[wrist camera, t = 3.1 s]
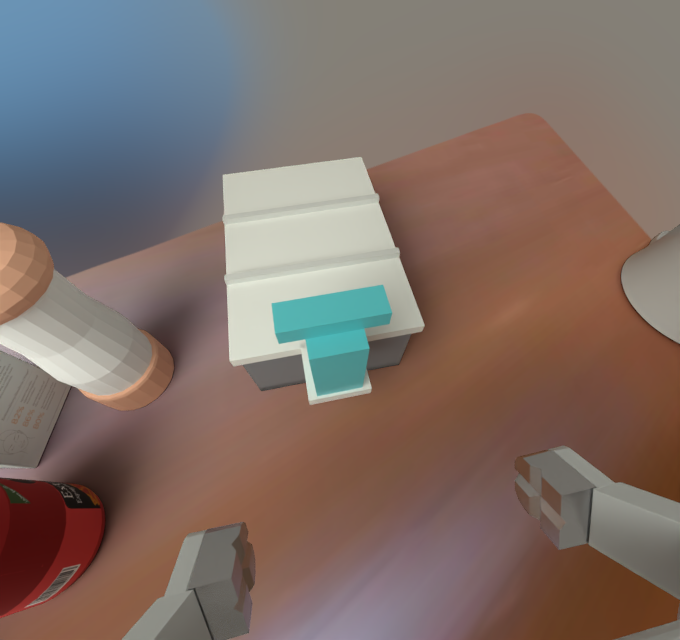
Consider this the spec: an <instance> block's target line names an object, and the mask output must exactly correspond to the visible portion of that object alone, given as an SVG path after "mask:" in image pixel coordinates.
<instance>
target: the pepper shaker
mask: <svg viewBox="0 0 680 640" xmlns="http://www.w3.org/2000/svg"><path fill="white" fill-rule="evenodd" d="M0 344H1V345H3V346H5V347H8V348H10V349H12V350H14V351H16V352H18V353H20V354H22V355H24V356H25V357H26V358H28V359H29V360H31V361H32V362H33V363H35V364H36V365H37V366H39V367H40V368H41V369H43V370H44V371H46V372H47V373H48V374H50V375H51V376H52V377H54V378H55V379H57V380H58V381H61V382H63V383H66V384H68V385H71V386H73V387H76V388H78V389H79V391H80V392H82V393H83V394H84V395H85V396H86V397H87V398H89V399H92V400H94V401H96V402H99V403H101V404H104V405H106V406H108V407H111V408H114V409H117V410H120V411H124V410H135V409H138V408H141V407H144V406H146V405H148V404H149V403H151V402H152V401H154V400H156V399H157V398H158V397H159V396H160V395H161V394H162V393H163V392H164V391H165V390H166V388H167V386H168V384H169V383H170V381H171V379H172V375H173V371H174V363H173V357H172V356H171V354H170V352H169V350H168V349H166V348H165V347H164V346H163V345H162V344H161V343H160V342H159V341H157V340H156V339H155V338H154V337H153V336H152V335H150V334H149V333H148V332H146V331H145V330H141V329H138V328H136V327H135V326H134V325H133V324H132V323H131V322H130V321H129V320H128V319H127V318H125V317H124V316H123V315H121V314H120V313H118V312H116V311H114V310H113V309H111V308H109V307H107V306H105V305H104V304H102V303H100V302H98V301H96V300H95V299H93V298H91V297H89V296H87V295H86V294H84V293H83V292H82V291H81V290H79V289H78V288H77V287H76V286H74V285H73V284H72V283H71V282H69V281H68V280H67V279H66V278H65V277H63V276H62V275H61V274H60V273H58V272H57V271H56V270H55V269H54V264H53V260H52V258H51V256H50V253H49V251H48V249H47V247H46V245H45V243H44V242H43V241H42V240H41V239H39V238H38V237H37V236H35V235H34V234H32V233H30V232H29V231H26V230H25V229H23V228H21V227H17V226H13V225H9V224H5V223H0Z"/></svg>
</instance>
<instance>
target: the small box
mask: <svg viewBox="0 0 680 640" xmlns="http://www.w3.org/2000/svg"><path fill="white" fill-rule="evenodd" d="M70 388H71V385H68V384H66V383H63V382H61V381H58V380H57V379H55V378H54V377H52V376H51V375H50V374H48V373H47V372H46V371H44V370H43V369H41V368H38V367H36V366H34V365H32V364H29V363H27V362H25V361H23V360H20V359H18V358H16V357H14V356H11V355H9V354H7V353H5V352H2V351H0V468H36V467H37V466H38V463H39V461H40V458H41V456H42V454H43V451H44V449H45V447H46V444H47V442H48V439H49V437H50V435H51V433H52V430H53V428H54V425H55V423H56V421H57V418H58V416H59V414H60V411H61V409H62V407H63V404H64V402H65V399H66V397H67V395H68V392H69V390H70Z"/></svg>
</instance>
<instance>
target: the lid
mask: <svg viewBox="0 0 680 640" xmlns="http://www.w3.org/2000/svg"><path fill="white" fill-rule="evenodd" d="M223 194H224V215H223V216H222V217H223V222H224V225H225V249H226V275H224V279H225V283H226V285H227V303H228V330H229V358H230V363H231V364H232V365H233V366H239V365H244V364H250V363H255V362H261V361H266V360H271V359H277V358H282V357H288V356H293V355H298V354H302V360H303V366H304V373H305V379H306V385H307V392H308V398H309V403H310V405H312V404H317V403H322V402H327V401H332V400H337V399H342V398H347V397H352V396H357V395H362V394H367V393H371V389H372V388H371V384H370V380H369V376H368V372H367V368H366V366H367V360H368V355H369V349H370V348H369V344H368V342H369V341H374V340H379V339H385V338H390V337H396V336H401V335H406V334H412V333H417V332H422V330H423V328H424V326H425V325H424V322H423V320H422V317H421V314H420V312H419V309H418V306H417V304H416V301H415V298H414V296H413V293H412V290H411V288H410V285H409V282H408V280H407V277H406V274H405V272H404V269H403V266H402V264H401V261H400V258H399V256H400V251H399V248H395V245H394V242H393V240H392V237H391V234H390V232H389V229H388V226H387V224H386V221H385V218H384V216H383V213H382V210H381V208H380V205H379V196H378V193H377V194H375V192H374V189H373V186H372V184H371V181H370V178H369V176H368V173H367V170H366V168H365V165H364V163H363V160H362V157H357V158H349V159H342V160H333V161H327V162H318V163H310V164H304V165H295V166H287V167H280V168H272V169H264V170H257V171H250V172H242V173H234V174H226V175H223Z"/></svg>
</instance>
